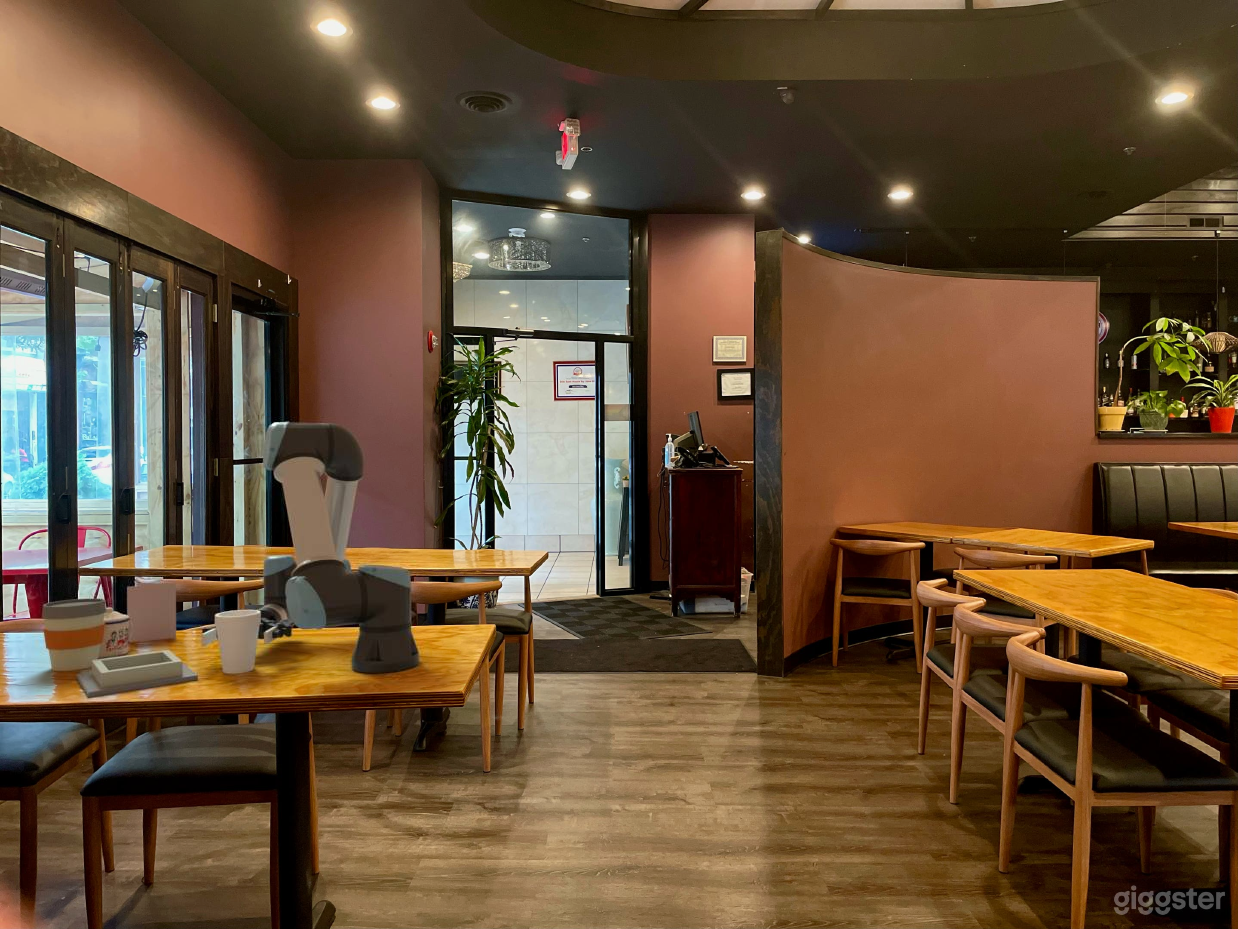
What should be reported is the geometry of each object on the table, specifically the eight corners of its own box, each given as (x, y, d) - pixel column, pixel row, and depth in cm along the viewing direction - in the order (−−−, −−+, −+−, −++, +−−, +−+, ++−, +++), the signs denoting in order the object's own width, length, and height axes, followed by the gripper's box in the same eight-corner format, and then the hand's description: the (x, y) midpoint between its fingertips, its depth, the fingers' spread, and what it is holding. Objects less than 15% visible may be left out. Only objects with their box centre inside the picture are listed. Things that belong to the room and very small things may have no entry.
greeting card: (178, 637, 218) (178, 583, 218) (159, 643, 211) (158, 587, 211) (140, 636, 220) (140, 582, 220) (120, 642, 212) (120, 586, 212)
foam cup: (243, 676, 175) (242, 617, 175) (206, 674, 177) (205, 616, 177) (269, 665, 184) (269, 610, 184) (233, 664, 186) (233, 609, 186)
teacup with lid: (109, 659, 193) (109, 611, 193) (77, 658, 194) (77, 610, 194) (147, 648, 205) (146, 603, 205) (116, 647, 206) (116, 602, 206)
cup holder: (198, 679, 172) (197, 661, 172) (88, 697, 159) (88, 677, 159) (178, 663, 188) (178, 646, 188) (76, 678, 175) (76, 660, 175)
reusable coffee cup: (101, 657, 195) (100, 596, 195) (111, 666, 186) (111, 602, 186) (38, 666, 186) (38, 602, 187) (46, 676, 177) (45, 609, 177)
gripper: (317, 634, 201) (291, 653, 180) (215, 638, 199) (176, 657, 177) (317, 605, 201) (291, 621, 180) (215, 608, 199) (176, 624, 178)
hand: (234, 639), depth 179 cm, fingers open, 13 cm apart
